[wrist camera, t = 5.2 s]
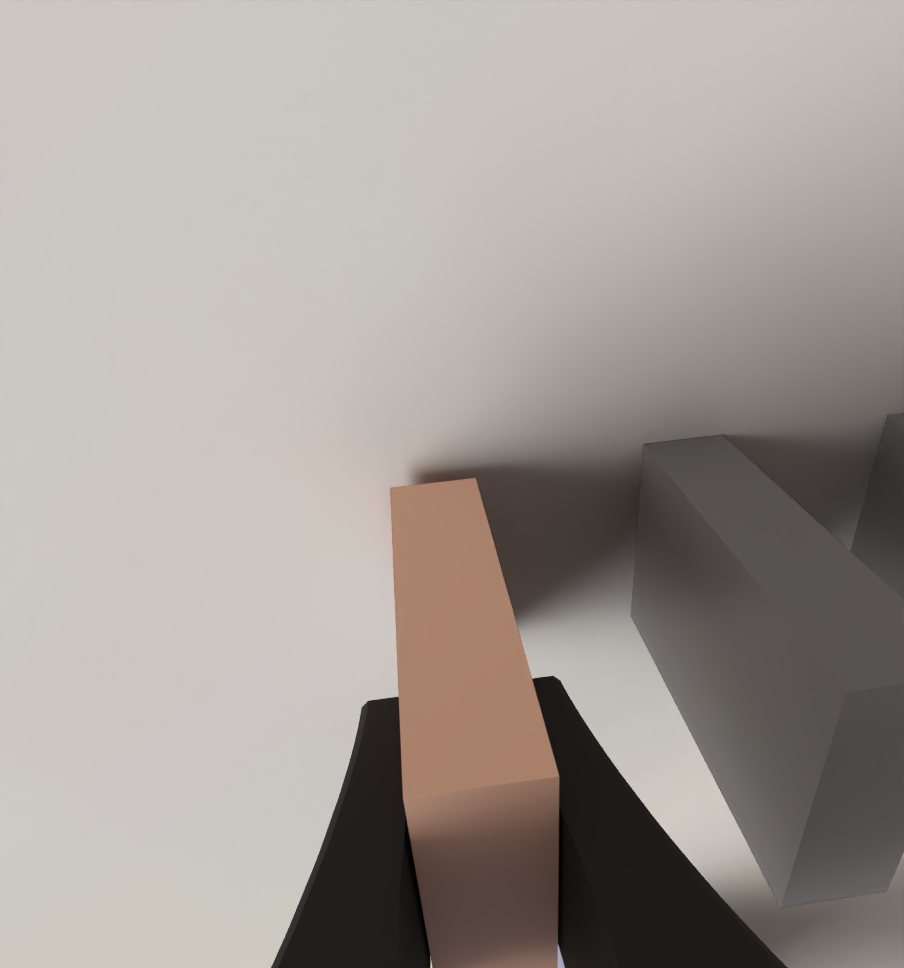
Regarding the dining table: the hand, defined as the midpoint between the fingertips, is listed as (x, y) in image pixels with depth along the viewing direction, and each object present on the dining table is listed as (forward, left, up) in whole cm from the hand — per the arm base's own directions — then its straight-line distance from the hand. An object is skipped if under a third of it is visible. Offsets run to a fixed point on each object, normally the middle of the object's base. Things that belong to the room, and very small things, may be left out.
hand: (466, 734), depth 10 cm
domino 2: (0, -5, -4) cm, 7 cm away
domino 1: (0, 0, -4) cm, 4 cm away
